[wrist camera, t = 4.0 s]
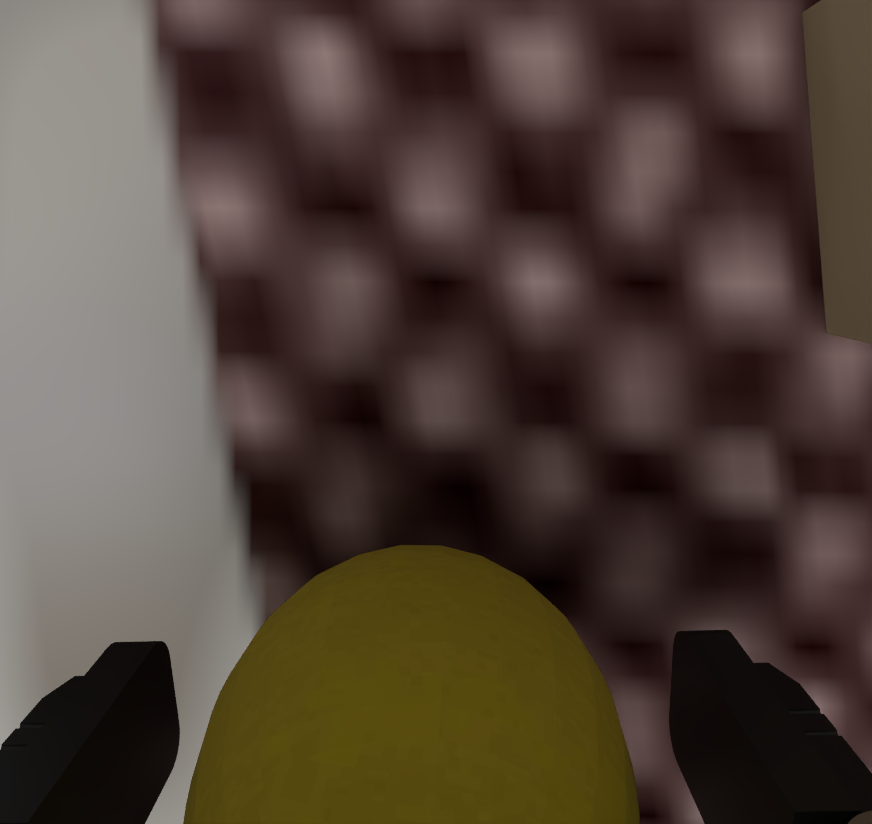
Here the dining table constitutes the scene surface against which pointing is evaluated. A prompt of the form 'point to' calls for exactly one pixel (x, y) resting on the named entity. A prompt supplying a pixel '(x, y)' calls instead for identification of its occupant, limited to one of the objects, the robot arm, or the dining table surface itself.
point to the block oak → (842, 157)
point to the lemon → (415, 706)
